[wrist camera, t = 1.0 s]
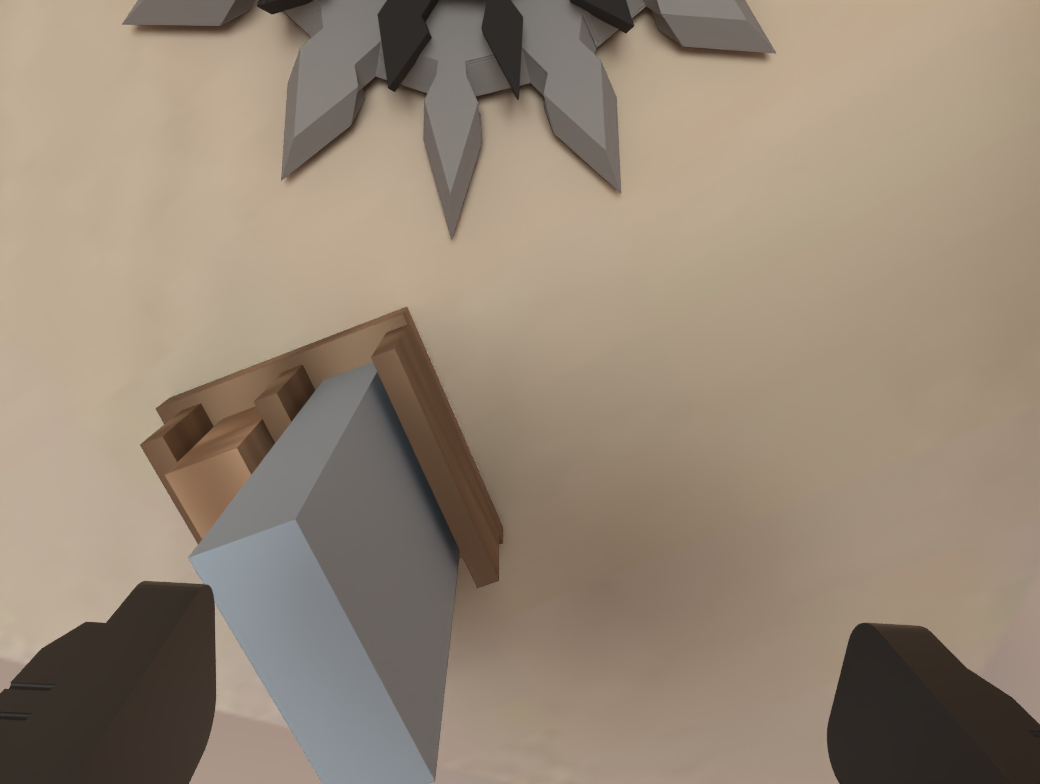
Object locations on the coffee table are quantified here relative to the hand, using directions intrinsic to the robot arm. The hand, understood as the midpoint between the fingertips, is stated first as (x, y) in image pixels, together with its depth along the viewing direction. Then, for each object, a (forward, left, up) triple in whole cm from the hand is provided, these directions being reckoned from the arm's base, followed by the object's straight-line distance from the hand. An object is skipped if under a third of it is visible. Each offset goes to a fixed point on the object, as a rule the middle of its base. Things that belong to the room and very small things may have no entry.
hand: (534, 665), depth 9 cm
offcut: (+13, +3, -24) cm, 27 cm away
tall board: (+8, +5, -24) cm, 26 cm away
